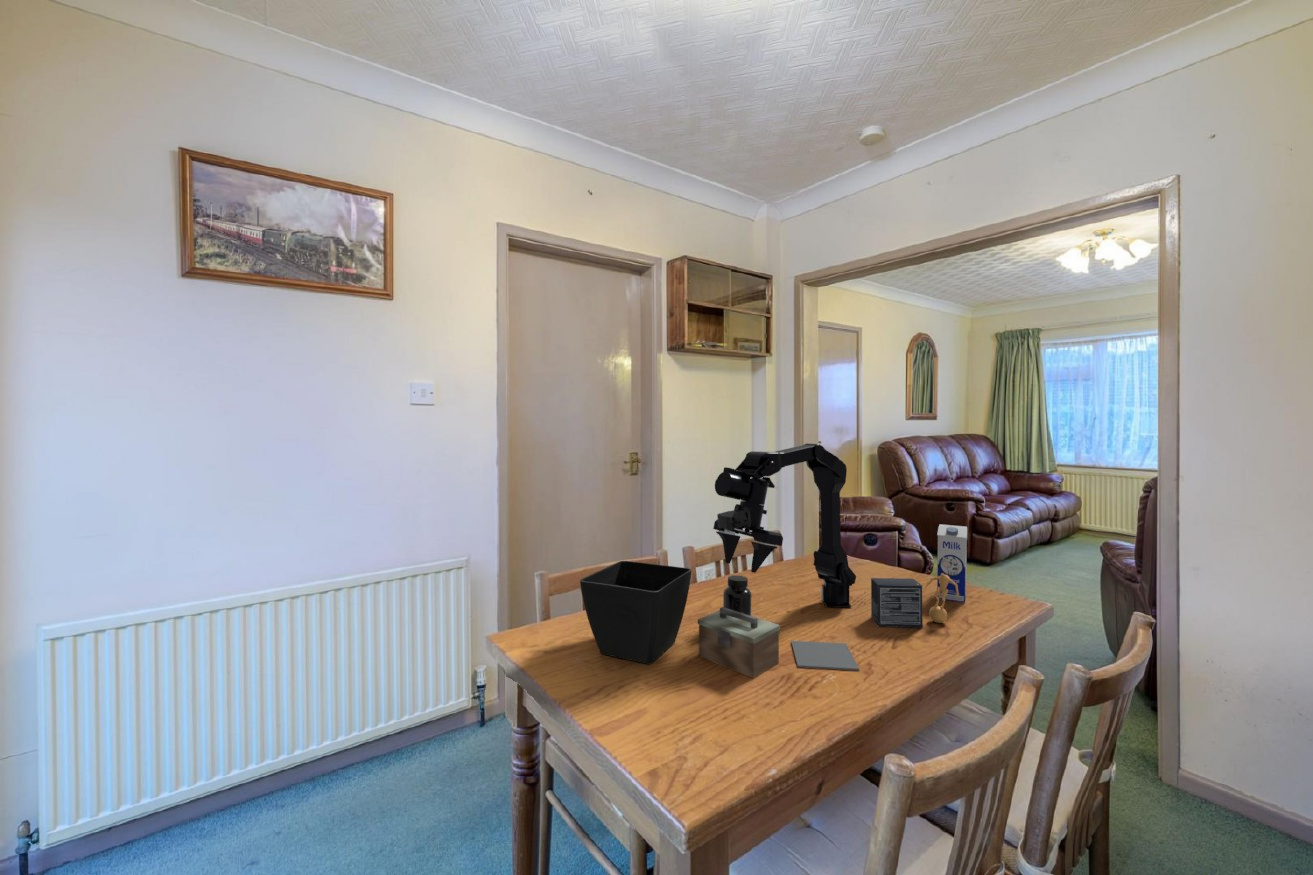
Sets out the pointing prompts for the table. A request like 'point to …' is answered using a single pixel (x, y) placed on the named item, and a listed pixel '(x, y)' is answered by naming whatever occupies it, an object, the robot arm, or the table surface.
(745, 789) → the table surface
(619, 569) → the flower pot
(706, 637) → the toolbox
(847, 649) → the mat
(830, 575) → the robot arm
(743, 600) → the supplement bottle
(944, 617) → the figurine
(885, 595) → the small box
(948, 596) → the milk carton
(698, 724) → the table surface
